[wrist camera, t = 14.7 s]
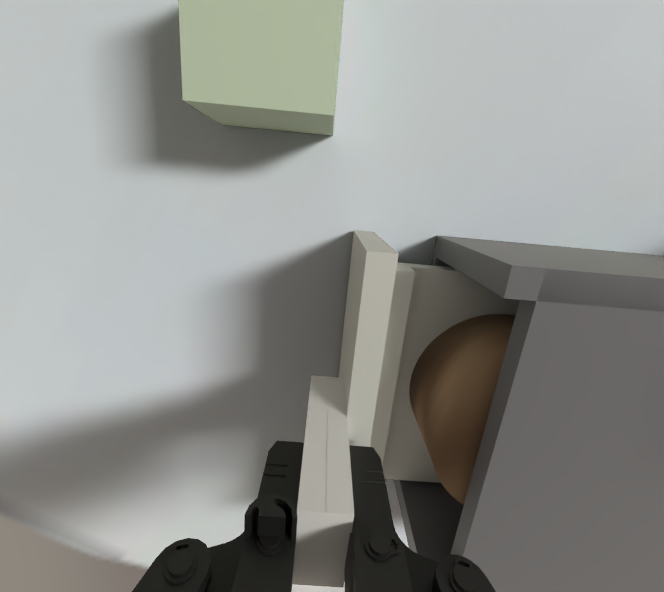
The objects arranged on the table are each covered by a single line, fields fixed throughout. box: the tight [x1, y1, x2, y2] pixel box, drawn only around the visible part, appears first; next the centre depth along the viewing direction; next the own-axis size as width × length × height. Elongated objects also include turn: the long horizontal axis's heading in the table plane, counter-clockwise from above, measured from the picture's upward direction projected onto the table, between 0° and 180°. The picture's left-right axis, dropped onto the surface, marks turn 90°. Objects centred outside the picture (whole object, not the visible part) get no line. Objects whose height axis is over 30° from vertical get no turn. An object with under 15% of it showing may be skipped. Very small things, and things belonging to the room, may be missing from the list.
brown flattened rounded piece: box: [409, 314, 516, 505], centre depth 15 cm, size 8×8×4 cm
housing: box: [394, 236, 664, 592], centre depth 15 cm, size 16×15×7 cm
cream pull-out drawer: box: [338, 231, 520, 581], centre depth 15 cm, size 16×15×6 cm
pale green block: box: [178, 0, 344, 136], centre depth 12 cm, size 5×5×4 cm
